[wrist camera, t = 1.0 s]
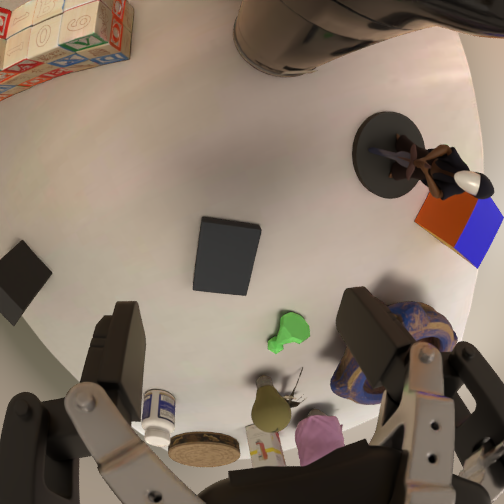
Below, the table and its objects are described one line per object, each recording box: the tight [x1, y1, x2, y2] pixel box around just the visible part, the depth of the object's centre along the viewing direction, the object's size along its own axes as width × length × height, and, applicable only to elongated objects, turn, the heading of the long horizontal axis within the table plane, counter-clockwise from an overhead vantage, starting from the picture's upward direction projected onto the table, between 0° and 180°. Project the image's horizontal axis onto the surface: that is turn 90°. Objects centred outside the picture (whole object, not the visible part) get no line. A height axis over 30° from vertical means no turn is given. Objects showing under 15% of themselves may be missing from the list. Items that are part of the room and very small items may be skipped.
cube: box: [414, 191, 504, 269], centre depth 28 cm, size 8×8×8 cm
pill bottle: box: [142, 390, 175, 447], centre depth 36 cm, size 5×5×9 cm
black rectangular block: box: [0, 240, 52, 326], centre depth 23 cm, size 4×6×8 cm, turn 36°
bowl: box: [330, 301, 457, 405], centre depth 35 cm, size 18×18×10 cm
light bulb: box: [251, 376, 291, 433], centre depth 36 cm, size 6×6×10 cm
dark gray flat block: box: [193, 217, 262, 296], centre depth 29 cm, size 8×6×2 cm
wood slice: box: [168, 432, 240, 467], centre depth 49 cm, size 16×16×3 cm
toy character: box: [295, 409, 345, 466], centre depth 40 cm, size 12×10×20 cm
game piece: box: [268, 312, 310, 354], centre depth 35 cm, size 4×4×6 cm
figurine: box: [352, 112, 494, 200], centre depth 21 cm, size 10×10×15 cm
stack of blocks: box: [0, 0, 134, 101], centre depth 11 cm, size 21×6×12 cm, turn 89°
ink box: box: [245, 424, 286, 468], centre depth 44 cm, size 9×5×12 cm, turn 20°
